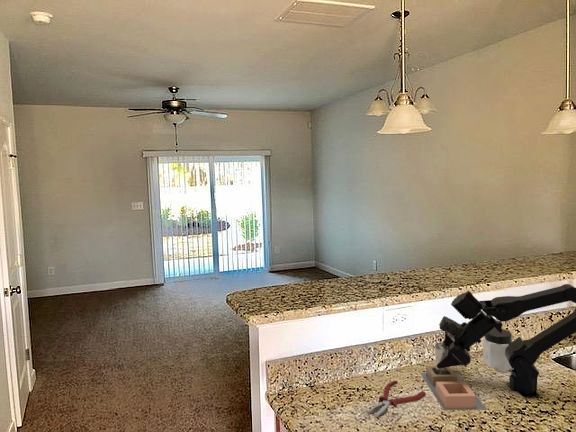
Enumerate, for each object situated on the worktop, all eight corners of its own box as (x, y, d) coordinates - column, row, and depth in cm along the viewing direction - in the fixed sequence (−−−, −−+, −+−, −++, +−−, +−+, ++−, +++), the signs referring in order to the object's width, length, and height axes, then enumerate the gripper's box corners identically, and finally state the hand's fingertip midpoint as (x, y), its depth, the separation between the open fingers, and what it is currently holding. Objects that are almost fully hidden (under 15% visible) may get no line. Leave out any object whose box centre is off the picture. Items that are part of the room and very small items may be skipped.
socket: (464, 392, 129) (464, 381, 129) (476, 408, 121) (476, 396, 121) (435, 393, 130) (435, 381, 129) (445, 408, 121) (445, 396, 121)
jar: (478, 361, 152) (479, 327, 151) (501, 360, 153) (502, 326, 152) (492, 373, 143) (493, 337, 142) (516, 371, 144) (517, 336, 143)
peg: (444, 377, 139) (445, 342, 138) (448, 382, 135) (449, 347, 134) (433, 377, 139) (433, 342, 138) (437, 383, 136) (437, 347, 134)
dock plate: (457, 375, 142) (457, 363, 142) (487, 413, 120) (487, 399, 120) (420, 376, 142) (420, 364, 142) (443, 413, 121) (443, 399, 120)
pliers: (354, 411, 124) (354, 402, 123) (393, 385, 137) (393, 378, 137) (389, 428, 115) (389, 418, 115) (427, 399, 129) (427, 391, 129)
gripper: (453, 300, 143) (417, 330, 147) (459, 320, 125) (418, 353, 129) (478, 326, 141) (442, 355, 146) (488, 349, 124) (446, 382, 128)
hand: (436, 360), depth 137 cm, fingers open, 9 cm apart
